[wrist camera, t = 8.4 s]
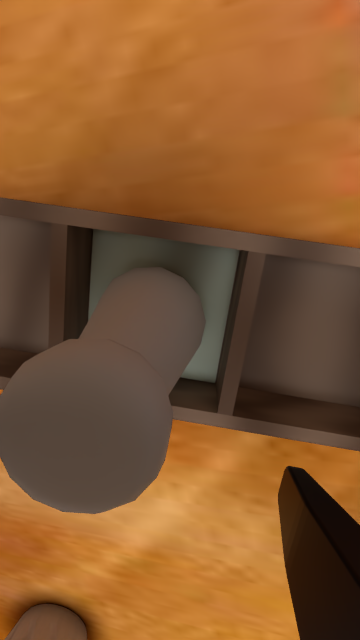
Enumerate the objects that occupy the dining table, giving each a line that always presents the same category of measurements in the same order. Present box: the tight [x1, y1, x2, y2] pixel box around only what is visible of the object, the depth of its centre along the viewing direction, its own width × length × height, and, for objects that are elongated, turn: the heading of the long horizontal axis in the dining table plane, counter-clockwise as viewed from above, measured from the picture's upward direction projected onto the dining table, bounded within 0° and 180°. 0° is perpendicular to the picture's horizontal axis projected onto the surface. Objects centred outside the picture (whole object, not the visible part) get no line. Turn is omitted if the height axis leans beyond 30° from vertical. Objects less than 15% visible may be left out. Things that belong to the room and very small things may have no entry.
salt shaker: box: [0, 267, 206, 514], centre depth 13 cm, size 6×6×13 cm
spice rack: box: [0, 198, 360, 451], centre depth 18 cm, size 29×10×4 cm, turn 82°
